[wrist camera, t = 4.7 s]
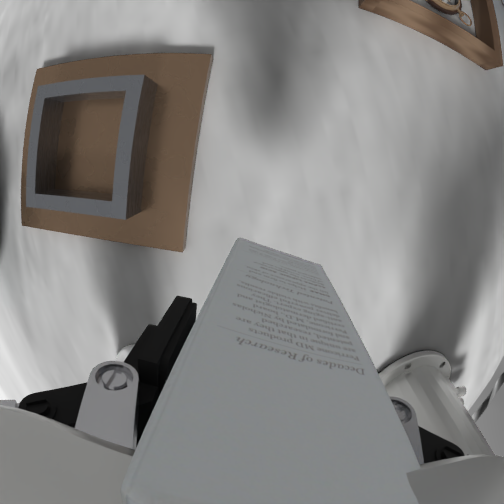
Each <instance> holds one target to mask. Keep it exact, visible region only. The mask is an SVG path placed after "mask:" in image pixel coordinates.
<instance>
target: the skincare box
mask: <svg viewBox="0 0 504 504" xmlns="http://www.w3.org/2000/svg"><path fill="white" fill-rule="evenodd" d="M418 469H421V468H420V465H419V463H418V460H417V458H416V455H415V453H414V450H413V448H412V445H411V443H410V441H409V438H408V436H407V434H406V432H405V430H404V427H403V425H402V423H401V421H400V419H399V417H398V414H397V412H396V410H395V408H394V406H393V403H392V401H391V399H390V397H389V395H388V393H387V391H386V389H385V387H384V385H383V382H382V380H381V378H380V376H379V374H378V372H377V370H376V368H375V366H374V364H373V362H372V360H371V358H370V356H369V354H368V352H367V350H366V348H365V346H364V344H363V342H362V340H361V338H360V336H359V335H358V333H357V331H356V329H355V327H354V325H353V323H352V321H351V319H350V317H349V315H348V313H347V312H346V310H345V308H344V306H343V304H342V302H341V300H340V298H339V297H338V295H337V293H336V291H335V289H334V287H333V286H332V284H331V282H330V280H329V278H328V277H327V275H326V273H325V271H324V270H323V268H322V266H321V265H320V264H316V263H313V262H310V261H307V260H304V259H302V258H299V257H296V256H293V255H290V254H287V253H284V252H281V251H278V250H275V249H272V248H269V247H266V246H263V245H260V244H257V243H254V242H252V241H249V240H246V239H243V238H238V239H237V240H236V242H235V244H234V245H233V247H232V249H231V251H230V253H229V255H228V257H227V259H226V261H225V263H224V265H223V267H222V269H221V271H220V273H219V275H218V277H217V279H216V281H215V283H214V285H213V287H212V289H211V291H210V293H209V295H208V297H207V299H206V301H205V303H204V305H203V307H202V309H201V311H200V313H199V315H198V317H197V319H196V321H195V323H194V325H193V327H192V329H191V331H190V333H189V335H188V337H187V339H186V341H185V343H184V345H183V347H182V350H181V352H180V354H179V356H178V358H177V360H176V362H175V364H174V366H173V368H172V370H171V372H170V375H169V377H168V379H167V381H166V383H165V385H164V387H163V390H162V392H161V394H160V396H159V398H158V400H157V403H156V405H155V407H154V409H153V411H152V414H151V416H150V418H149V420H148V422H147V425H146V427H145V429H144V431H143V434H142V436H141V438H140V441H139V443H138V445H137V448H136V450H135V452H134V455H133V457H132V460H131V462H130V465H129V467H128V470H127V472H126V475H125V477H124V480H123V483H122V486H121V490H120V492H121V497H122V501H123V503H124V504H419V503H418V501H417V498H416V496H415V495H414V493H413V491H412V488H411V486H410V484H409V481H408V478H407V475H406V473H408V472H411V471H414V470H418Z"/></svg>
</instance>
